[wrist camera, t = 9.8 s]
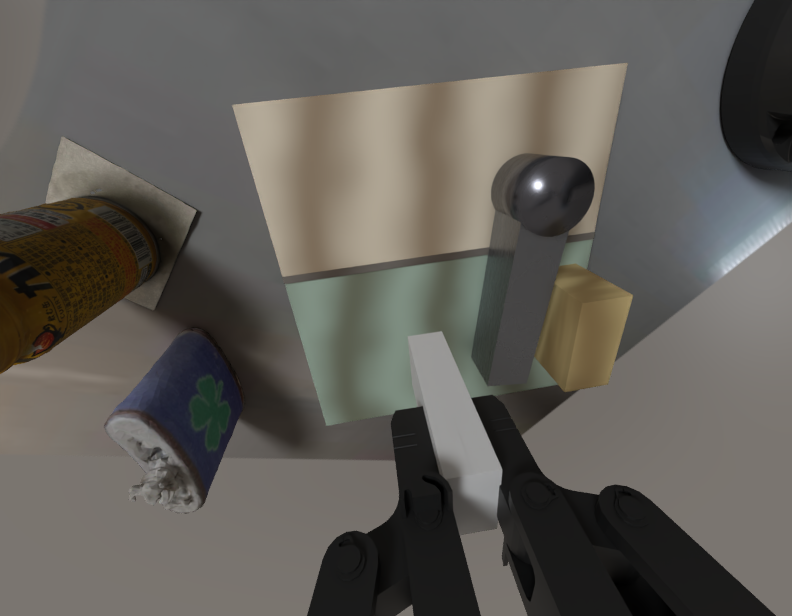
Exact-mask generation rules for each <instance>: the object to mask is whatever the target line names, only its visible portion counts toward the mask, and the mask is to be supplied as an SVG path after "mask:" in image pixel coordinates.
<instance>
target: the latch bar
mask: <svg viewBox="0 0 792 616" xmlns="http://www.w3.org/2000/svg"><path fill="white" fill-rule="evenodd" d="M594 191H595V182H594V177H593V174H592V172H591V170H590V168H589V167H588V166H587V165H586V163H584V162H583V161H581V160H579V159H577V158H573V157H563V156H552V155H542V154H531V153H524V154H520V155H517V156H515V157H513V158H511V159H509V160H508V161H507V162H506V163H504V164H503V166H502V167H501V168H500V169H499V170H498V172H497V174H496V176H495V178H494V180H493V183H492V188H491V200H492V204H493V206H494V208H495V215H494V221H493V228H492V234H491V240H490V246H489V252H488V258H487V264H486V270H485V276H484V282H483V288H482V294H481V300H480V306H479V312H478V318H477V324H476V330H475V336H474V342H473V348H472V355H471V358H472V360H473V361H474V363H475V365H476V367H477V369H478V370H479V372H480V374H481V376H482V377H483V379H484V381H485V383H486V385H487V386H499V385H512V384H526V383H527V380H528V377H529V373H530V370H531V366H532V362H533V359H534V355H535V352H536V348H537V344H538V341H539V337H540V334H541V330H542V326H543V323H544V319H545V316H546V312H547V308H548V305H549V301H550V298H551V294H552V290H553V287H554V283H555V280H556V276H557V272H558V269H559V265H560V262H561V258H562V254H563V251H564V247H565V244H566V240H567V236H568V233H569V230H571V229H572V228H573V227H575V226H576V225H577V224H578V223H579V222H580V221H581V220H582V219H583V217H584V216H585V215H586V213H587V211H588V210H589V208H590V206H591V203H592V200H593V197H594Z"/></svg>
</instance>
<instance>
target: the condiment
mask: <svg viewBox="0 0 792 616" xmlns="http://www.w3.org/2000/svg"><path fill="white" fill-rule="evenodd" d="M99 188H100V189H102V191H100V192H97V191H96V189H99ZM91 191H94V192H95V194H91V193H90V192H91ZM196 211H197V210H195V209H193V208H192V207H190V206H188V205H186V204H184V203H183V202H182V201H180V200H178V199H176V198H174V197H173V196H171V195H169V194H167V193H166V192H164V191H162V190H160V189H158V188H156V187H155V186H153V185H151V184H150V183H148V182H146V181H144V180H142V179H140V178H139V177H137V176H135V175H133V174H131V173H129V172H128V171H126V170H125V169H123V168H121V167H119V166H117V165H115V164H113V163H111V162H109V161H107V160H105V159H103V158H101V157H100V156H98V155H96V154H95V153H93V152H91V151H89V150H87V149H85V148H83V147H81V146H79V145H77V144H75V143H74V142H72V141H70V140H68V139H66V138H65V137H63V136H62V138H61V142H60V145H59V148H58V152H57V158H56V162H55V164H54V167H53V173H52V177H51V181H50V183H49V189H48V193H47V198H46V204H43V205H40V206H36V207H31V208H27V209H23V210H20V211H15V212H8V213H4V214H0V374H1V373H3V372H5V371H6V370H8V369H9V368H10V367H11V366H13V365H17V364H21V363H26V362H29V361H31V360H34V359H36V358H38V357H40V356H41V355H43V354H45V353H47V352H49V351H50V350H51V349H52V348H53V347H55V346H56V345H58V344H59V343H61V342H62V341H63V340H65V339H66V338H68V337H69V336H70V335H72V334H73V333H75V332H76V331H78V330H79V329H80V328H82V327H83V326H85V325H86V324H87V323H89V322H90V321H92V320H93V319H95V318H96V317H97V316H99V315H100V314H102V313H103V312H104V311H106V310H107V309H109V308H110V307H112V306H113V305H114V304H116V303H117V302H118V301H120V300H121V299H123V298H125V299H128V300H130V301H132V302H134V303H137V304H139V305H141V306H144V307H146V308H149V309H151V310H154V309H155V307H156V305H157V302H158V300H159V298H160V296H161V294H162V291H163V289H164V286H165V284H166V282H167V280H168V278H169V275H170V272H171V271H172V268H173V265H174V263H175V261H176V258H177V255H178V253H179V251H180V249H181V247H182V244H183V242H184V240H185V238H186V235H187V233H188V230H189V227H190V225H191V222H192V220H193V218H194V216H195V213H196ZM160 238H162V240H161V239H160Z"/></svg>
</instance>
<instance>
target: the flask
mask: <svg viewBox="0 0 792 616" xmlns="http://www.w3.org/2000/svg"><path fill="white" fill-rule="evenodd" d="M191 329H192V330H194V331H192V330H189V329H186V330H184V331H182V332H181V333H179V334H178V336H177V337H176V338H175V339H174V341H173V342H172V343H171V345H170V346H169V347H168V349H167V350H166V351H165V352H164V354H163V355H162V356H161V357H160V358H159V360H158V361H157V362H156V363H155V364H154V365H153V367H152V368H151V370H150V371H149V372H148V373H147V374H146V375H145V376H144V377H143V379H142V380H141V381H140V383H139V384H138V385H137V386H136V387H135V388H134V389H133V391H132V392H131V393H130V394H129V395H128V396H127V397H126V398H125V400H124V401H123V402H121V403H120V404H119V405H118V406H117V407H116V408H115V410H114V411H113V413H112V414H111V415H110V416H109V418H108V419H107V421H106V423H105V425H104V428H105V431H106V433H107V434H108V435H109V437H110V438H111V439H112V440H114V441H115V442H116V443H118V444H119V446H120V447H121V448H122V449H124V450H125V451H127V452H128V454H129V455H130V456H131V457H132V458H133V459H134V460H135V461H136V462H137V463H138V464H139V465H140V467H141V468H142V469H143V470H144V472H145V473H146V474H145V475H144V476H143V477H142V478H141V483H142V484H141V485H135V486H132V487H131V488H130V490H129V495H130V497H129V500H130V501H133V502H135V501H136V497H135V496H136V495H142V496H143V497H144V499H145V501H146V502H147V503H148V504H153V505H155V504H156V502H157V500H158V499H159V498H160V502H159V503H161V504H162V505H163V506H164V509H168V510H170V511H174V512H176V513H185V514H187V513H189V512H194V511H196V510H198V509H199V508H201V507H202V505H203V504H204V503H205V500H206V498H207V495H208V491H209V488H210V486H211V484H212V481H213V479H214V476H215V473H216V471H217V470H218V466H219V464H220V462H221V459H222V457H223V454H224V451H225V449H226V447H227V444H228V442H229V440H230V438H231V436H232V434H233V431H234V428H235V425H236V423H237V420H238V418H239V416H240V414H241V412H242V410H243V407H244V405H245V403H244V395H243V392H242V387H241V386H240V382H239V378H237V376H236V373H235V372H234V371H233V369H232V367H231V364H230V363H229V361H228V360H227V358H226V356H225V355H224V354H223V351H222V350H221V348H220V347H219V346H218V344H217V342H216V341H215V340H214V339H213V338H212V337H211V336H210V335H209V334H208V333H207V332H205V331H204V330H203V329H198V328H191Z"/></svg>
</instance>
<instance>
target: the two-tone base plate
mask: <svg viewBox="0 0 792 616" xmlns="http://www.w3.org/2000/svg"><path fill="white" fill-rule="evenodd" d="M627 64H628V63H622V64H612V65H603V66H594V67H584V68H575V69H565V70H556V71H547V72H537V73H528V74H518V75H509V76H500V77H490V78H481V79H471V80H462V81H453V82H443V83H434V84H424V85H415V86H406V87H396V88H387V89H377V90H368V91H359V92H349V93H340V94H330V95H321V96H312V97H302V98H293V99H284V100H274V101H265V102H255V103H246V104H237V105H232V106H233V109H234V113H235V116H236V120H237V123H238V126H239V130H240V133H241V137H242V140H243V143H244V147H245V150H246V154H247V157H248V160H249V164H250V167H251V171H252V174H253V177H254V181H255V184H256V188H257V191H258V194H259V198H260V201H261V205H262V208H263V212H264V215H265V218H266V222H267V225H268V229H269V232H270V235H271V239H272V242H273V246H274V249H275V252H276V256H277V259H278V263H279V266H280V269H281V273H282V276H283V277H282V278H283V281H284V284H285V286H286V290H287V293H288V297H289V300H290V303H291V307H292V310H293V314H294V317H295V320H296V324H297V327H298V331H299V334H300V337H301V341H302V344H303V348H304V351H305V354H306V358H307V361H308V365H309V368H310V371H311V375H312V378H313V382H314V385H315V388H316V392H317V395H318V399H319V402H320V405H321V409H322V412H323V416H324V419H325V422H326V426H328V425H334V424H340V423H345V422H351V421H356V420H362V419H368V418H373V417H379V416H384V415H390V414H394V413H395V410H402V409H408V408H415V407H417V403H416V399H415V395H414V390H413V386H412V377H411V367H410V357H409V346H408V336H413V335H420V334H427V333H434V332H440V331H442V333H443V335H444V337H445V340H446V342H447V344H448V347H449V349H450V351H451V353H452V356H453V358H454V360H455V363H456V365H457V367H458V369H459V372H460V374H461V376H462V379H463V381H464V383H465V385H466V388H467V390H468V392H469V394H470V397H471V398H474V397H480V396H486V395H493V396H497V395H502V394H508V393H514V392H519V391H525V390H530V389H536V388H542V387H547V386H553V385H559V386H560V387H561V389H562V390H563V391H564V392H569V391H574V390H580V389H585V388H590V387H596V386H601V385H607V384H608V382H609V379H610V375H611V372H612V368H613V365H614V361H615V358H616V354H617V351H618V347H619V344H620V340H621V337H622V333H623V330H624V326H625V323H626V319H627V316H628V312H629V309H630V305H631V301H632V298H633V295H632V294H630V293H628V292H626V291H624V290H623V289H621V288H619V287H617V286H615V285H614V284H612V283H610V282H608V281H606V280H605V279H603V278H601V277H599V276H597V275H596V274H594V273H592V272H590V271H588V270H587V266H588V261H589V256H590V251H591V246H592V241H593V239H594V236H595V232H594V231H595V226H596V221H597V216H598V211H599V206H600V201H601V196H602V191H603V185H604V180H605V175H606V170H607V165H608V160H609V155H610V150H611V145H612V140H613V135H614V130H615V125H616V120H617V115H618V110H619V105H620V99H621V94H622V89H623V84H624V79H625V74H626V69H627ZM524 153H531V154H542V155H552V156H563V157H573V158H577V159H579V160H581V161H583V162H584V163H586V165H587V166H588V167H589V168H590V170H591V172H592V174H593V177H594V182H595V191H594V197H593V200H592V203H591V206H590V208H589V210H588V211H587V213H586V215H585V216H584V217H583V219H582V220H581V221H580V222H579V223H578V224H577V225H576V226H575V227H573V228H572V229H571V230H569V233H568V236H567V240H566V244H565V247H564V251H563V254H562V258H561V262H560V265H559V269H558V272H557V276H556V280H555V283H554V287H553V290H552V294H551V298H550V301H549V305H548V308H547V312H546V316H545V319H544V323H543V326H542V330H541V334H540V337H539V341H538V344H537V348H536V352H535V355H534V359H533V362H532V366H531V370H530V373H529V377H528V380H527V383H526V384H512V385H499V386H487V385H486V383H485V381H484V379H483V377H482V376H481V374H480V372H479V370H478V369H477V367H476V365H475V363H474V361H473V360H472V358H471V355H472V348H473V342H474V336H475V330H476V324H477V318H478V312H479V306H480V300H481V294H482V288H483V282H484V276H485V270H486V264H487V258H488V252H489V246H490V240H491V234H492V228H493V221H494V215H495V208H494V206H493V204H492V200H491V188H492V183H493V180H494V178H495V176H496V174H497V172H498V170H499V169H500V168H501V167H502V166H503V164H504V163H506V162H507V161H508V160H509V159H511V158H513V157H515V156H517V155H520V154H524Z"/></svg>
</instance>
